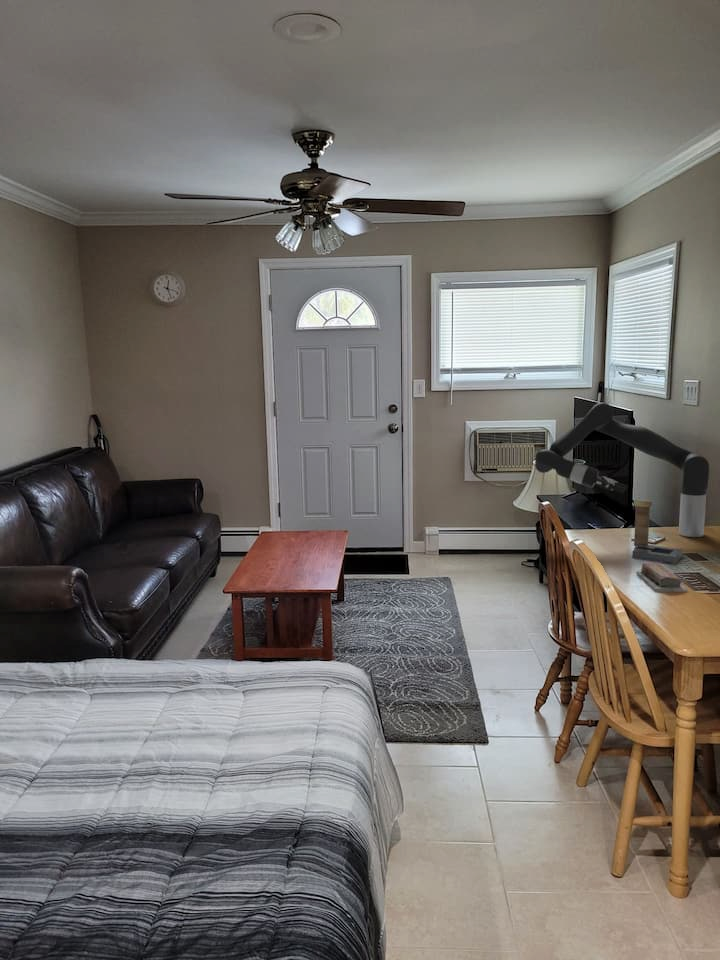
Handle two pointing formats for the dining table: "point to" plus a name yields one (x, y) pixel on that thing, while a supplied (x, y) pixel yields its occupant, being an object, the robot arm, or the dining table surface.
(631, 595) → the dining table surface
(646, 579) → the packaged product
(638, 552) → the keyhole plate
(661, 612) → the dining table surface
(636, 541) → the walnut peg
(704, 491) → the robot arm
